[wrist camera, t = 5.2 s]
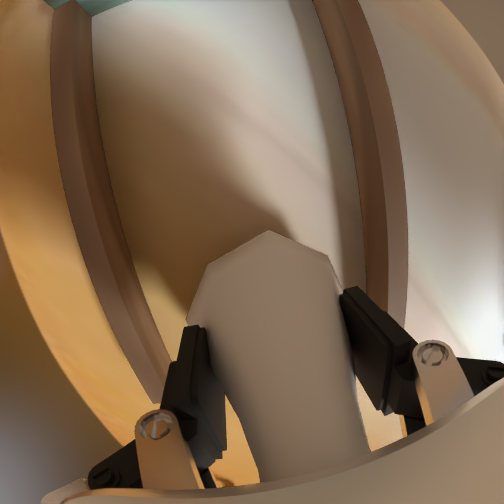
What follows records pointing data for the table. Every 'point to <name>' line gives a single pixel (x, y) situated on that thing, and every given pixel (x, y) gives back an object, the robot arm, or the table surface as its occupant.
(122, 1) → the guide channel
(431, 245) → the table surface
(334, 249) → the table surface
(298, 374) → the flask
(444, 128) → the table surface
